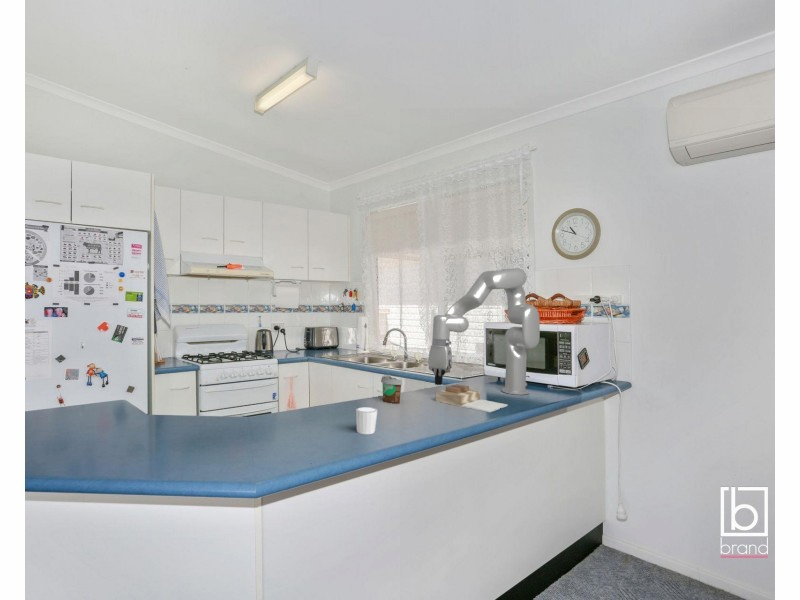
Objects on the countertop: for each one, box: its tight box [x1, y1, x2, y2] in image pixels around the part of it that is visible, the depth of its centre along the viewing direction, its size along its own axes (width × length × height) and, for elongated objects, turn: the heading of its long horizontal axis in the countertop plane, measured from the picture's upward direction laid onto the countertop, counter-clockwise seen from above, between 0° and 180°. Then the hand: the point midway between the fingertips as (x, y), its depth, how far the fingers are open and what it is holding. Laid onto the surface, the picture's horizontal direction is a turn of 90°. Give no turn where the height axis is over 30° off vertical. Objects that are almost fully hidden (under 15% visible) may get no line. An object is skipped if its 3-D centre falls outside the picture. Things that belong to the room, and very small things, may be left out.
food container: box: [380, 374, 403, 405], centre depth 181 cm, size 12×6×10 cm, turn 25°
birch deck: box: [435, 388, 481, 407], centre depth 188 cm, size 16×12×4 cm
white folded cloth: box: [461, 398, 508, 413], centre depth 180 cm, size 16×12×1 cm
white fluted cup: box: [355, 406, 379, 435], centre depth 139 cm, size 7×7×7 cm
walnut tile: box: [445, 384, 470, 394], centre depth 189 cm, size 9×6×2 cm, turn 141°
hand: (438, 384), depth 194 cm, fingers closed
